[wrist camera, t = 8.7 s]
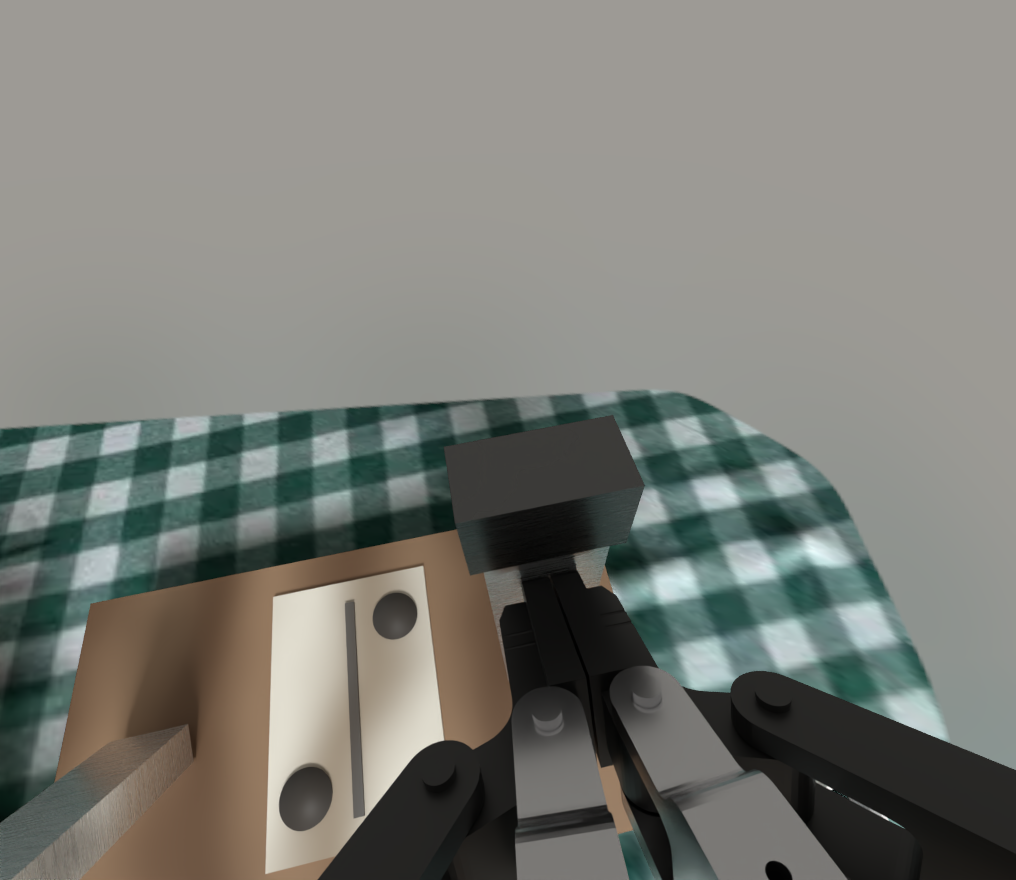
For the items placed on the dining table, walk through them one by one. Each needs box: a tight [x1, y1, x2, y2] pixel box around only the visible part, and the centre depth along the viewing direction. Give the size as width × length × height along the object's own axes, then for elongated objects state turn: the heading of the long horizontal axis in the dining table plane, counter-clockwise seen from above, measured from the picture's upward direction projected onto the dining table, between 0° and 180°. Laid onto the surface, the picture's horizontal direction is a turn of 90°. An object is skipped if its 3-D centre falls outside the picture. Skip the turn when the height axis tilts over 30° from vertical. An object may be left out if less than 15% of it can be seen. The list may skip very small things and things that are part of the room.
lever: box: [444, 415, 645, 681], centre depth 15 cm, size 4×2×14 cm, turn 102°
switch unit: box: [54, 530, 633, 880], centre depth 22 cm, size 24×13×4 cm, turn 102°
